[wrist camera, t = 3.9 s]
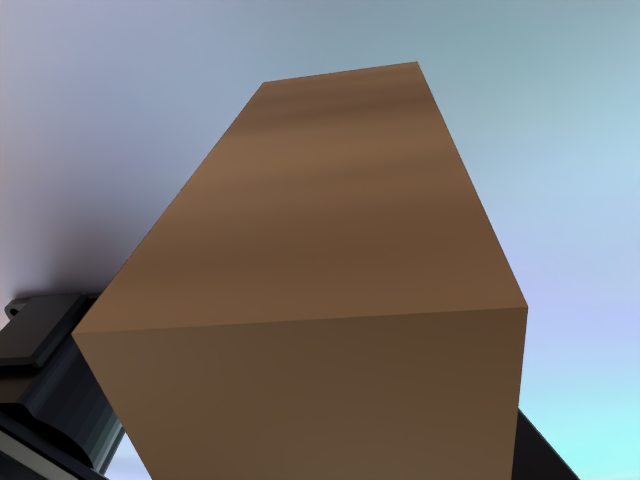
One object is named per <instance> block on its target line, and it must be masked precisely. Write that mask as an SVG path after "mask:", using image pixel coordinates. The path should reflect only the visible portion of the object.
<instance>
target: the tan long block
mask: <svg viewBox="0 0 640 480" xmlns="http://www.w3.org/2000/svg"><path fill="white" fill-rule="evenodd" d="M527 314H528V305H527V303H526V301H525V299H524V296H523V294H522V292H521V290H520V287H519V285H518V283H517V281H516V279H515V276H514V274H513V272H512V270H511V268H510V265H509V263H508V261H507V259H506V257H505V254H504V252H503V250H502V248H501V245H500V243H499V241H498V239H497V237H496V234H495V232H494V230H493V228H492V226H491V223H490V221H489V219H488V217H487V215H486V212H485V210H484V208H483V206H482V204H481V201H480V199H479V197H478V195H477V192H476V190H475V188H474V186H473V184H472V181H471V179H470V177H469V175H468V173H467V170H466V168H465V166H464V164H463V162H462V159H461V157H460V155H459V153H458V150H457V148H456V146H455V144H454V142H453V139H452V137H451V135H450V133H449V131H448V128H447V126H446V124H445V122H444V120H443V117H442V115H441V113H440V111H439V109H438V106H437V104H436V102H435V100H434V97H433V95H432V93H431V91H430V89H429V86H428V84H427V82H426V80H425V78H424V75H423V73H422V71H421V69H420V67H419V64H418V62H410V63H402V64H395V65H388V66H380V67H373V68H366V69H358V70H351V71H343V72H336V73H329V74H321V75H314V76H307V77H299V78H292V79H285V80H277V81H270V82H263V84H262V85H261V86H260V87H259V89H258V90H257V91H256V93H255V94H254V95H253V97H252V98H251V99H250V101H249V102H248V103H247V104H246V106H245V107H244V108H243V110H242V111H241V112H240V114H239V115H238V116H237V118H236V119H235V120H234V121H233V123H232V124H231V125H230V127H229V128H228V129H227V131H226V132H225V133H224V135H223V136H222V137H221V138H220V140H219V141H218V142H217V144H216V145H215V146H214V148H213V149H212V150H211V152H210V153H209V154H208V155H207V157H206V158H205V159H204V161H203V162H202V163H201V165H200V166H199V167H198V169H197V170H196V171H195V172H194V174H193V175H192V176H191V178H190V179H189V180H188V182H187V183H186V184H185V186H184V187H183V188H182V189H181V191H180V192H179V193H178V195H177V196H176V197H175V199H174V200H173V201H172V203H171V204H170V205H169V206H168V208H167V209H166V210H165V212H164V213H163V214H162V216H161V217H160V218H159V220H158V221H157V222H156V223H155V225H154V226H153V227H152V229H151V230H150V231H149V233H148V234H147V235H146V237H145V238H144V239H143V240H142V242H141V243H140V244H139V246H138V247H137V248H136V250H135V251H134V252H133V254H132V255H131V256H130V257H129V259H128V260H127V261H126V263H125V264H124V265H123V267H122V268H121V269H120V271H119V272H118V273H117V274H116V276H115V277H114V278H113V280H112V281H111V282H110V284H109V285H108V286H107V288H106V289H105V290H104V291H103V293H102V294H101V295H100V297H99V298H98V299H97V301H96V302H95V303H94V305H93V306H92V307H91V308H90V310H89V311H88V312H87V314H86V315H85V316H84V318H83V319H82V320H81V322H80V323H79V324H78V325H77V327H76V328H75V329H74V331H73V332H72V333H71V334H72V336H73V338H74V340H75V342H76V343H77V345H78V347H79V349H80V351H81V352H82V354H83V356H84V358H85V360H86V361H87V363H88V365H89V367H90V369H91V370H92V372H93V374H94V376H95V378H96V379H97V381H98V383H99V385H100V386H101V388H102V390H103V392H104V394H105V395H106V397H107V399H108V401H109V403H110V404H111V406H112V408H113V410H114V412H115V413H116V415H117V417H118V419H119V421H120V422H121V424H122V426H123V428H124V430H125V431H126V433H127V435H128V437H129V439H130V440H131V442H132V444H133V446H134V448H135V449H136V451H137V453H138V455H139V457H140V458H141V460H142V462H143V464H144V466H145V467H146V469H147V471H148V473H149V475H150V476H151V478H152V480H511V475H512V465H513V455H514V445H515V435H516V425H517V415H518V405H519V395H520V384H521V374H522V364H523V354H524V344H525V334H526V324H527Z"/></svg>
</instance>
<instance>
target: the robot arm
mask: <svg viewBox="0 0 640 480" xmlns="http://www.w3.org/2000/svg"><path fill="white" fill-rule="evenodd" d="M101 294H102V293H90V294H81V293H78V294H65V295H51V296H38V297H33V298H23V299H14V300H12V301H11V302H10V303H9V304H8V305H7V306H6V307H5V310H4V311H5V313H6V315H7V316H8V318H9V320H10V322H9V323H8V324H7V325H6V326H5V327H4V328H3V329H2V330H1V331H0V480H109V479H108V478H106V477H105V476H104V474H105V472H106V470H107V468H108V466H109V464H110V462H111V460H112V458H113V456H114V454H115V452H116V450H117V448H118V446H119V444H120V442H121V440H122V438H123V436H124V434H125V432H126V431H125V430H124V428H123V426H122V424H121V422H120V421H119V419H118V417H117V415H116V413H115V412H114V410H113V408H112V406H111V404H110V403H109V401H108V399H107V397H106V395H105V394H104V392H103V390H102V388H101V386H100V385H99V383H98V381H97V379H96V378H95V376H94V374H93V372H92V370H91V369H90V367H89V365H88V363H87V361H86V360H85V358H84V356H83V354H82V352H81V351H80V349H79V347H78V345H77V343H76V342H75V340H74V338H73V336H72V334H71V333H72V332H73V331H74V329H75V328H76V327H77V325H78V324H79V323H80V322H81V320H82V319H83V318H84V316H85V315H86V314H87V312H88V311H89V310H90V308H91V307H92V306H93V305H94V303H95V302H96V301H97V299H98V298H99V297H100V295H101ZM511 480H580V479H579V478H578V476H577V475H576V474H575V473H574V472H573V471H572V469H571V468H570V467H569V466H568V465H567V464H566V462H565V461H564V460H563V459H562V458H561V457H560V456H559V454H558V453H557V452H556V451H555V450H554V449H553V447H552V446H551V445H550V444H549V443H548V442H547V440H546V439H545V438H544V437H543V436H542V435H541V433H540V432H539V431H538V430H537V429H536V428H535V427H534V425H533V424H532V423H531V422H530V421H529V420H528V418H527V417H526V416H525V415H524V414H523V413H522V411H521V410H520V409H519V408H518V415H517V425H516V435H515V445H514V455H513V465H512V475H511Z"/></svg>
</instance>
